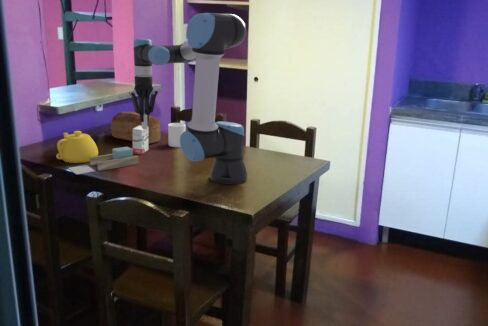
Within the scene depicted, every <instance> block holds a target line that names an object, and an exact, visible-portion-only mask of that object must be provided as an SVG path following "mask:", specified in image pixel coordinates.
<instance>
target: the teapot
mask: <svg viewBox="0 0 488 326" xmlns="http://www.w3.org/2000/svg"><path fill="white" fill-rule="evenodd" d="M56 148H57V151H58V153H57V154H56V159H57V160H62V161H64V162H65V163H68V162H69V164H84V163H90V157H94V156H99V149H98V145H97V144H96V142H95V141H94V139H93V138H92V137H91V135H89V134H87V133H82V130H74V131H73V133H71V134H69V133H68V132H63V138H61V139H59V140H58V141H57V143H56Z"/></svg>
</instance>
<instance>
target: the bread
mask: <svg viewBox="0 0 488 326" xmlns="http://www.w3.org/2000/svg"><path fill="white" fill-rule="evenodd" d="M110 122H111V123H110V131H111V136H113V138H116V139H121V140H126V141H130V142H133V128H135V127H137V126H142V122H140V115H139V114H137V113H136V112H135V111H119V112H117V113H116V114H115V115H114V116H113V117H112V118H111V121H110ZM147 126H148V145H149V144H154V143H157V142H159V141H160V140H161V122H160V120H159V119H158V118H157V117H154V116H153V115H151V114H150V115H149V121H147Z"/></svg>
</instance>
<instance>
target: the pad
mask: <svg viewBox="0 0 488 326" xmlns="http://www.w3.org/2000/svg"><path fill="white" fill-rule="evenodd" d="M68 170H69V171H71V172H72V173H74V174H75V175H82V174H89V173H90V174H91V173H94V172H95V173H96V170H94V169H93V168H92V167H90V165H88V164H84V165H78V166H72V167H68Z"/></svg>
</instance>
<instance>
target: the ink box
mask: <svg viewBox="0 0 488 326" xmlns="http://www.w3.org/2000/svg"><path fill="white" fill-rule="evenodd" d="M132 149H133V154H137V155H142V154H144V153H146V152H148V151H149V144H148V126H147V129H145V130H144V129H142V126H137V127H135V128H133V141H132Z"/></svg>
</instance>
